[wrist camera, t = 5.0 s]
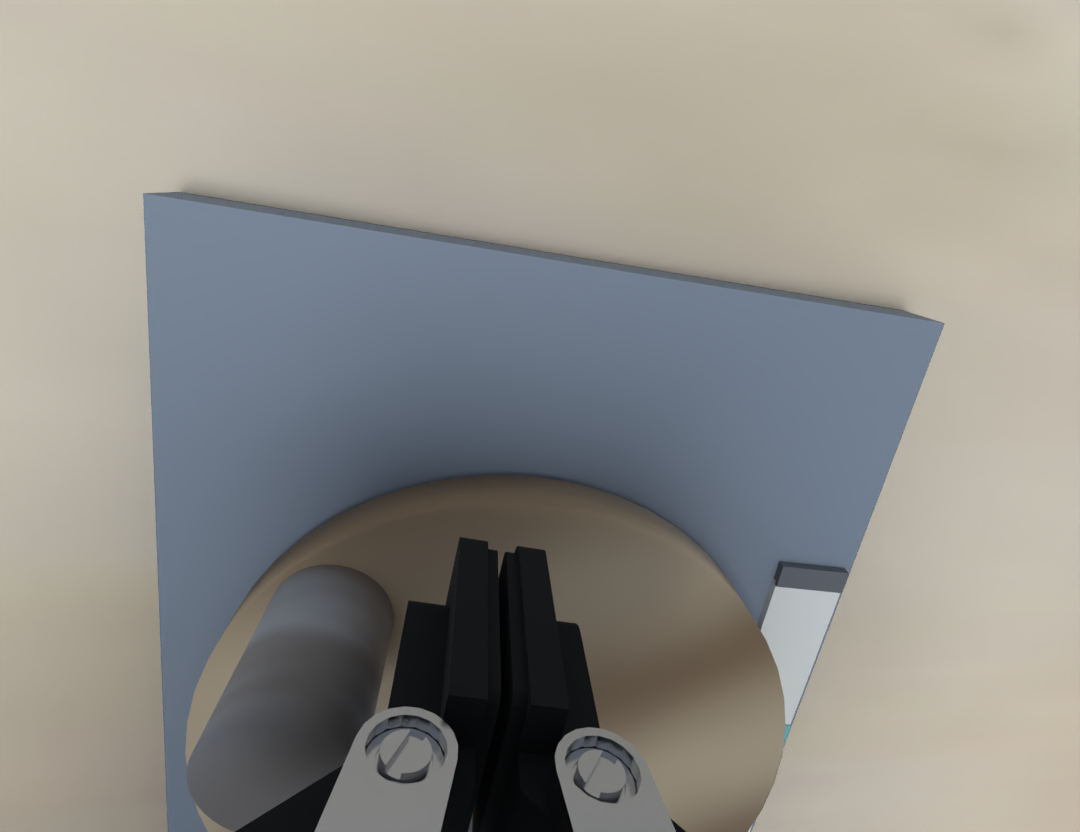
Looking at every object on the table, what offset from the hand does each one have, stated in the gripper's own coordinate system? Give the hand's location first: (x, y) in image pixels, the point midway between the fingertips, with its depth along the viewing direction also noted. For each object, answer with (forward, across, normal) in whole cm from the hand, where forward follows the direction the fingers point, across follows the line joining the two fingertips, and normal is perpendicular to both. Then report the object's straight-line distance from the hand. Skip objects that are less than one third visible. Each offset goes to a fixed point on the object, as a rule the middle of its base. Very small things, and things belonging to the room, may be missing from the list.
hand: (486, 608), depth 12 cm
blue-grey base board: (+5, -1, +6) cm, 7 cm away
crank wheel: (+3, -1, +6) cm, 7 cm away
